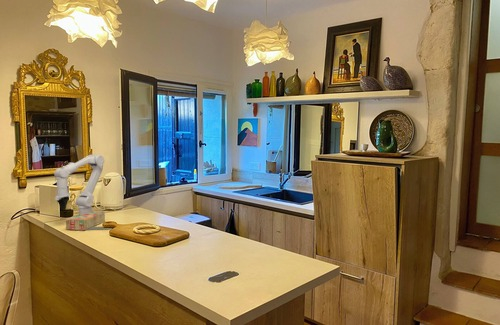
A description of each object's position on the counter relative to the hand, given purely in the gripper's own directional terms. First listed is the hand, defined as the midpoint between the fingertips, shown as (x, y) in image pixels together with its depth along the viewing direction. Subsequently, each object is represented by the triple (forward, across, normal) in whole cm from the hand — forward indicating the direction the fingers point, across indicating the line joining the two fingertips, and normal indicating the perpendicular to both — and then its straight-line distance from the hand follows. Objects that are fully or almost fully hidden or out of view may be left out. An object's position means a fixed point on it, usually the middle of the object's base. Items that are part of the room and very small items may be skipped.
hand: (63, 209), depth 224 cm
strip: (+10, -6, -22) cm, 25 cm away
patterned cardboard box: (+7, -1, -19) cm, 21 cm away
